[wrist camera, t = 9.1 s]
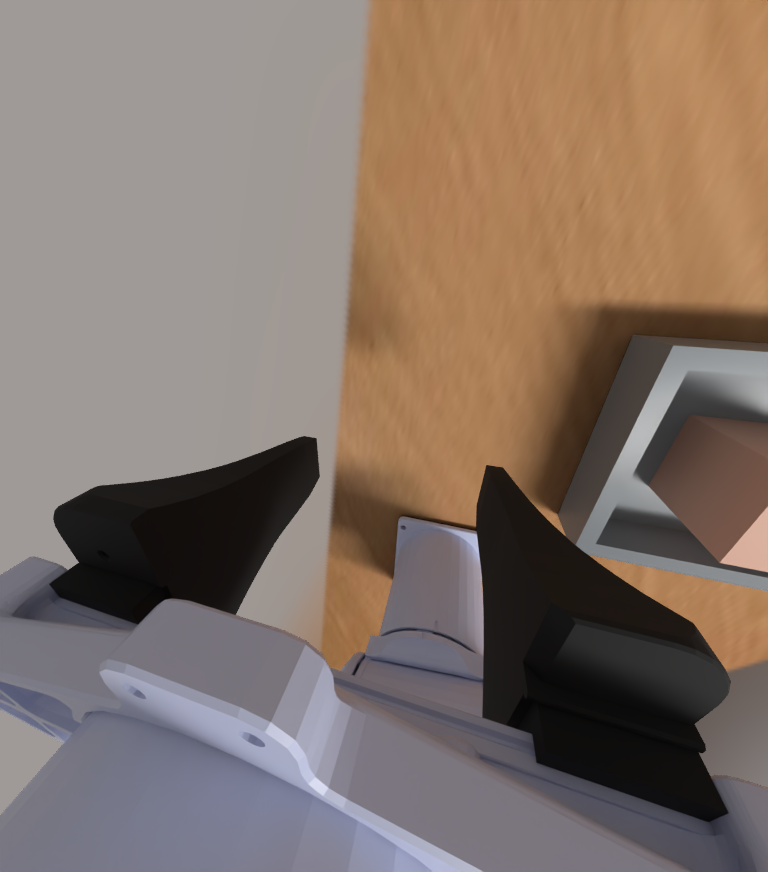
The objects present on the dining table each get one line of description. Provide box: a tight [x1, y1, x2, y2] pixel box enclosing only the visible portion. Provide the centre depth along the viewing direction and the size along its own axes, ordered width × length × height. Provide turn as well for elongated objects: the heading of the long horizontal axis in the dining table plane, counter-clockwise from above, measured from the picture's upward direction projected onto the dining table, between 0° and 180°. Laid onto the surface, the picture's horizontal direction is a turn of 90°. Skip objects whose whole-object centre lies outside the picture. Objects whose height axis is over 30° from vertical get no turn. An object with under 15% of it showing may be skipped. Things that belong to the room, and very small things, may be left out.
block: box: [649, 415, 768, 572], centre depth 14 cm, size 5×5×6 cm
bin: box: [558, 335, 768, 591], centre depth 16 cm, size 13×13×4 cm
